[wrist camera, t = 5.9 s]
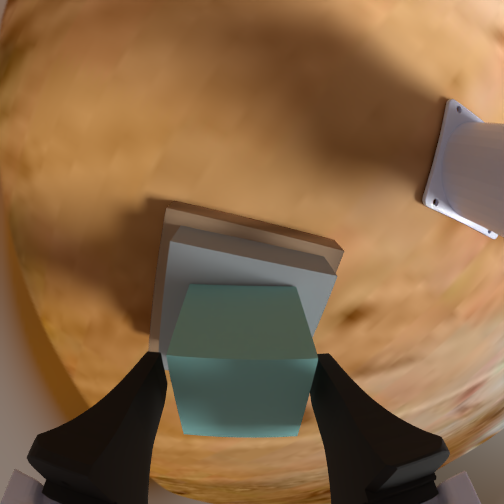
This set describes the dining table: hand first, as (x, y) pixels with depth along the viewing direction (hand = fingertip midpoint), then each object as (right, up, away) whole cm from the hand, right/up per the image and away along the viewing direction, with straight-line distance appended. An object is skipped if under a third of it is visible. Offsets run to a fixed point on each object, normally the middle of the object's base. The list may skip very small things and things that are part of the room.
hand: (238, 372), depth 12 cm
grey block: (0, +2, +5) cm, 5 cm away
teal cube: (0, +1, +3) cm, 3 cm away
